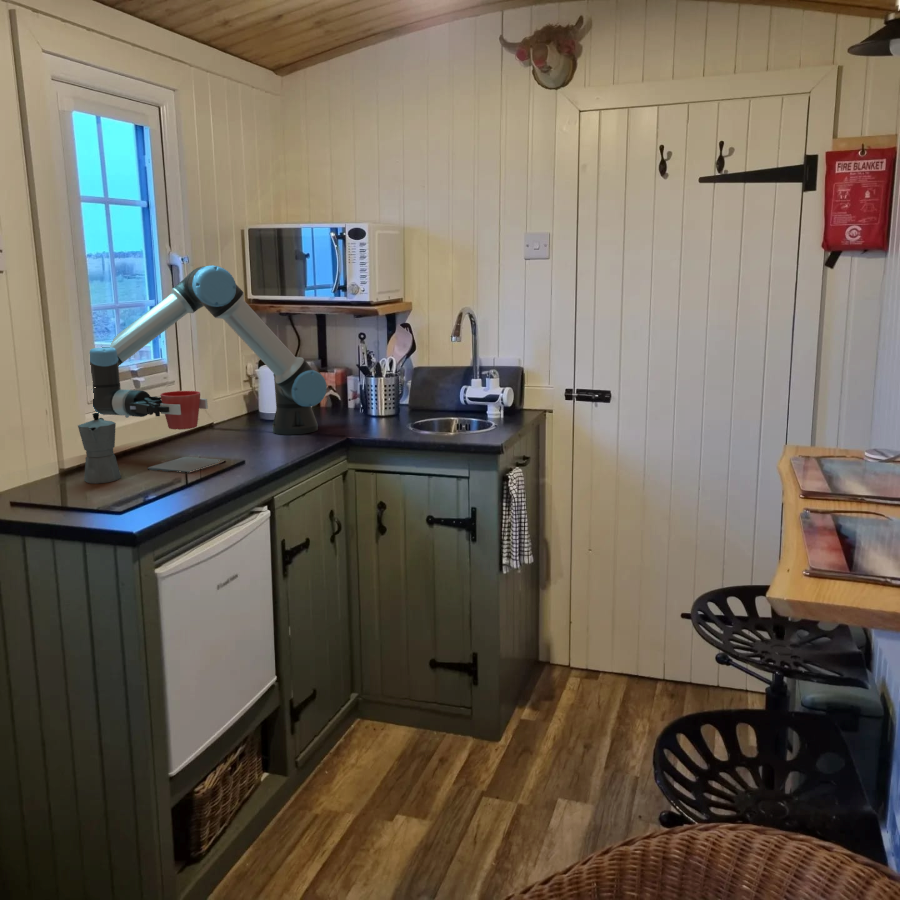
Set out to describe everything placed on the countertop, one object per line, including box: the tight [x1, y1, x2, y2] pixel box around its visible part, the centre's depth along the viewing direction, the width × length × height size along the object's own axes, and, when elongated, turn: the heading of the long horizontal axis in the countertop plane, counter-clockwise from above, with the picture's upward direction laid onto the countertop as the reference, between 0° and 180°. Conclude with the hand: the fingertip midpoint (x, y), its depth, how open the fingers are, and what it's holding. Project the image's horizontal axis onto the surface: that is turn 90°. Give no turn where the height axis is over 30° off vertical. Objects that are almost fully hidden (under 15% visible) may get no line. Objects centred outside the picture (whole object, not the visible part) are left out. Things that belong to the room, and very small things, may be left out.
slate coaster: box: [147, 456, 221, 473], centre depth 248 cm, size 15×15×1 cm
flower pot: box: [159, 390, 201, 431], centre depth 245 cm, size 11×11×10 cm
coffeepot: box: [77, 413, 122, 484], centre depth 234 cm, size 15×9×18 cm, turn 13°
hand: (193, 406), depth 243 cm, fingers closed on flower pot, 10 cm apart
